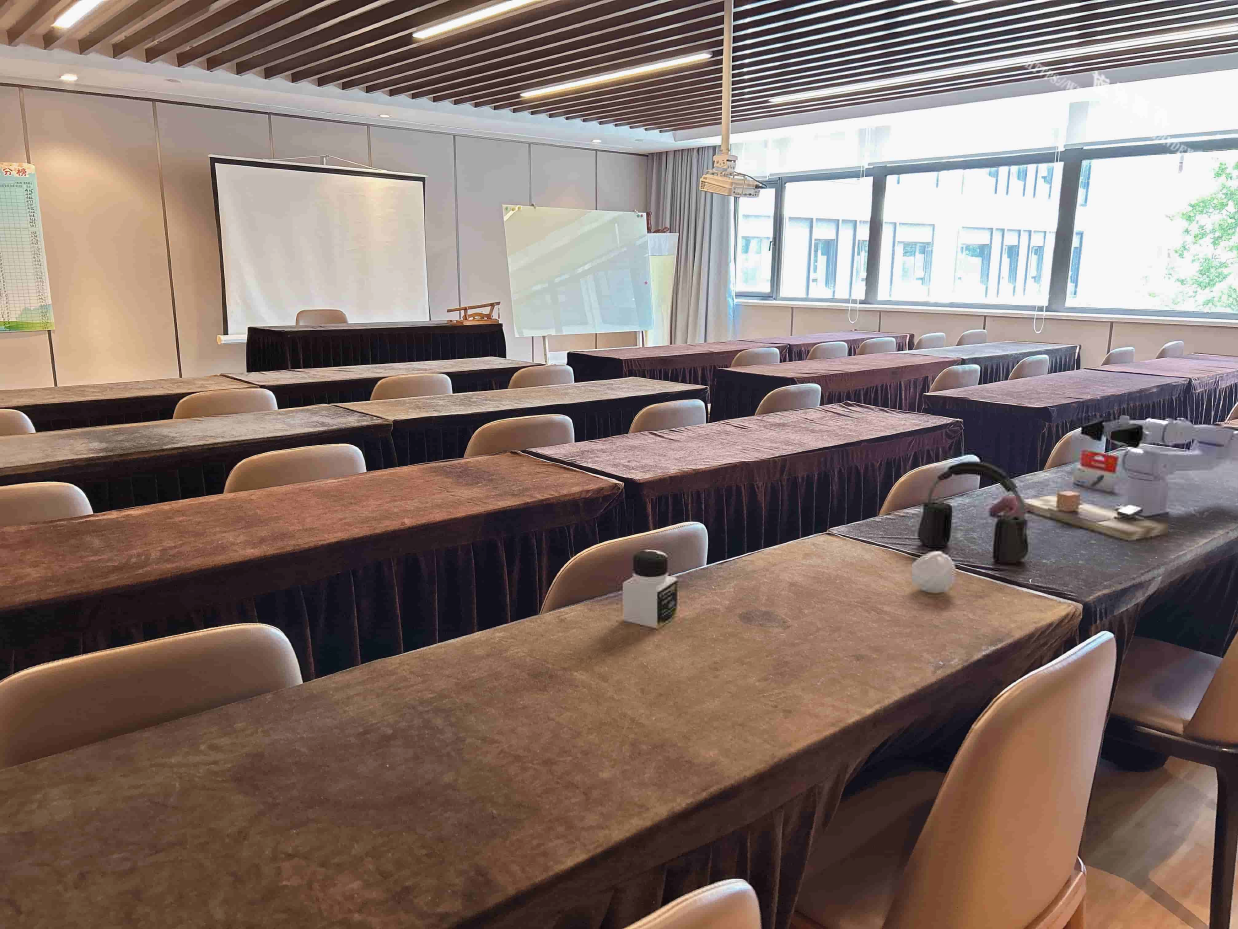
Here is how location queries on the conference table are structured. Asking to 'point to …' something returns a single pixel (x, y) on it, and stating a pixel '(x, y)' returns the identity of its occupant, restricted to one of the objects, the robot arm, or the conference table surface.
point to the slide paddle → (1068, 501)
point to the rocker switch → (1129, 511)
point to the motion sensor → (933, 572)
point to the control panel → (1098, 519)
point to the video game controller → (1008, 506)
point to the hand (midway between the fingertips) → (1097, 432)
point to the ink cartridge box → (1096, 471)
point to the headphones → (1007, 529)
